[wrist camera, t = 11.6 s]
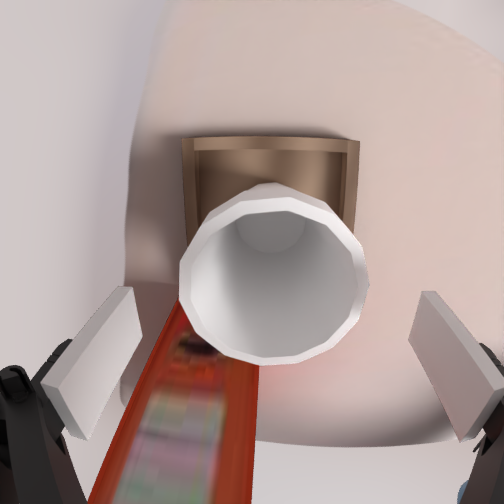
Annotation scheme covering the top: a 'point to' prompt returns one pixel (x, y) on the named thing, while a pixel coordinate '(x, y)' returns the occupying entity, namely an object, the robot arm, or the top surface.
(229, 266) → the foam cup
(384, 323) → the top surface
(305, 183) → the square wooden tray
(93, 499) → the file binder
